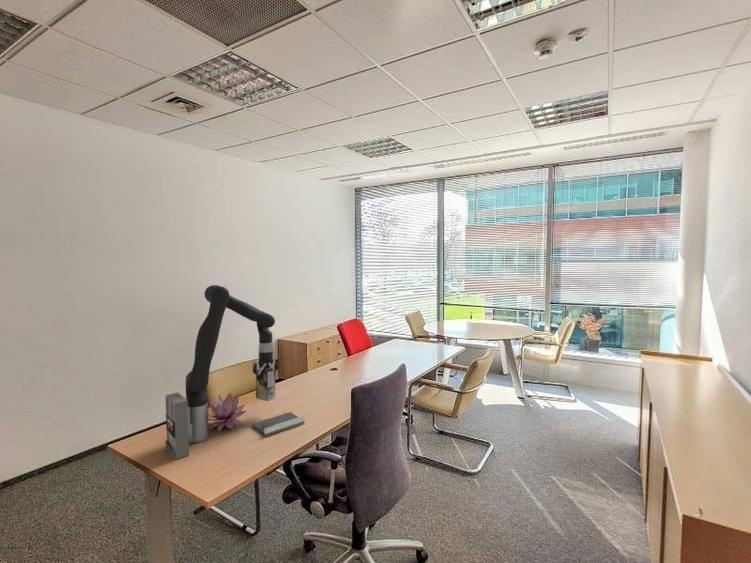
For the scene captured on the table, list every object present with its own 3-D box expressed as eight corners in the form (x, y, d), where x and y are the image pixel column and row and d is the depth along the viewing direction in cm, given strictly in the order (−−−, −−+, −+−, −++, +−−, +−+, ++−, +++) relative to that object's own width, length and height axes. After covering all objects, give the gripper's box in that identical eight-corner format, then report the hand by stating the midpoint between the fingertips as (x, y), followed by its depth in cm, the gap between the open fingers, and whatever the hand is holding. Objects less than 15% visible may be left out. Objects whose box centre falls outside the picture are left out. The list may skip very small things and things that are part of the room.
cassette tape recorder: (165, 448, 168) (163, 395, 166) (179, 444, 172) (177, 392, 170) (174, 460, 158) (172, 404, 156) (189, 455, 162) (187, 400, 161)
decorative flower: (254, 420, 198) (254, 392, 197) (228, 438, 177) (228, 407, 177) (221, 415, 204) (221, 388, 203) (192, 432, 183) (191, 402, 183)
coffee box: (276, 397, 203) (276, 369, 202) (267, 401, 197) (267, 372, 196) (263, 394, 207) (263, 367, 206) (255, 398, 201) (255, 369, 200)
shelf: (265, 437, 179) (265, 429, 179) (252, 426, 190) (252, 418, 190) (304, 423, 194) (304, 416, 193) (290, 414, 205) (290, 407, 205)
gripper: (256, 353, 193) (256, 384, 194) (280, 349, 203) (280, 378, 203) (250, 350, 199) (250, 380, 200) (274, 347, 208) (274, 375, 209)
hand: (265, 379), depth 202 cm, fingers closed on coffee box, 7 cm apart
